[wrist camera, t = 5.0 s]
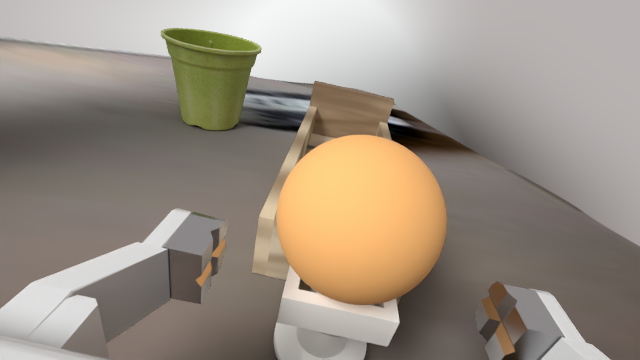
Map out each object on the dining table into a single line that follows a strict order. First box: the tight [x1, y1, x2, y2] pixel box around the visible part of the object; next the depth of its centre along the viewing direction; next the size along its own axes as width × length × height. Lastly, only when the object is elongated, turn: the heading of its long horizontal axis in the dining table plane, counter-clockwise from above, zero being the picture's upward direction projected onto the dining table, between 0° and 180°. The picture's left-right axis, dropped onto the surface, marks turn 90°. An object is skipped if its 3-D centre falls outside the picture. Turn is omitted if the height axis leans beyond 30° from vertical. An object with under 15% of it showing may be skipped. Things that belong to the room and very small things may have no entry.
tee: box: [273, 266, 400, 360], centre depth 14 cm, size 4×4×5 cm
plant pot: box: [161, 28, 261, 131], centre depth 33 cm, size 9×9×9 cm
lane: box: [252, 81, 402, 304], centre depth 26 cm, size 22×9×7 cm, turn 174°
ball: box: [276, 135, 447, 305], centre depth 12 cm, size 6×6×6 cm
